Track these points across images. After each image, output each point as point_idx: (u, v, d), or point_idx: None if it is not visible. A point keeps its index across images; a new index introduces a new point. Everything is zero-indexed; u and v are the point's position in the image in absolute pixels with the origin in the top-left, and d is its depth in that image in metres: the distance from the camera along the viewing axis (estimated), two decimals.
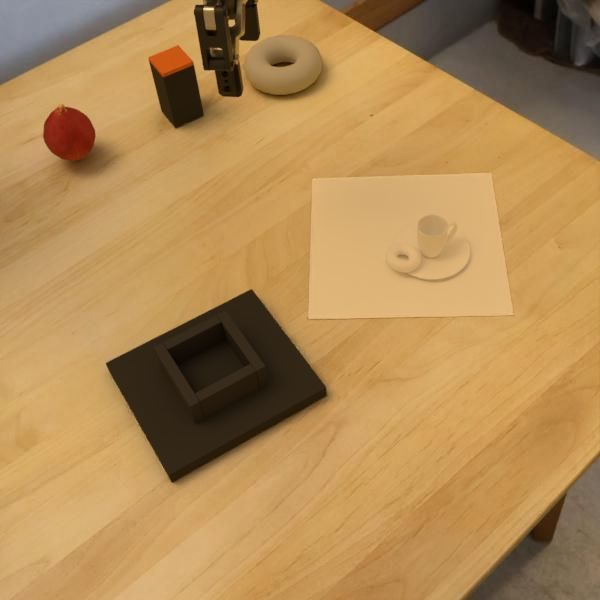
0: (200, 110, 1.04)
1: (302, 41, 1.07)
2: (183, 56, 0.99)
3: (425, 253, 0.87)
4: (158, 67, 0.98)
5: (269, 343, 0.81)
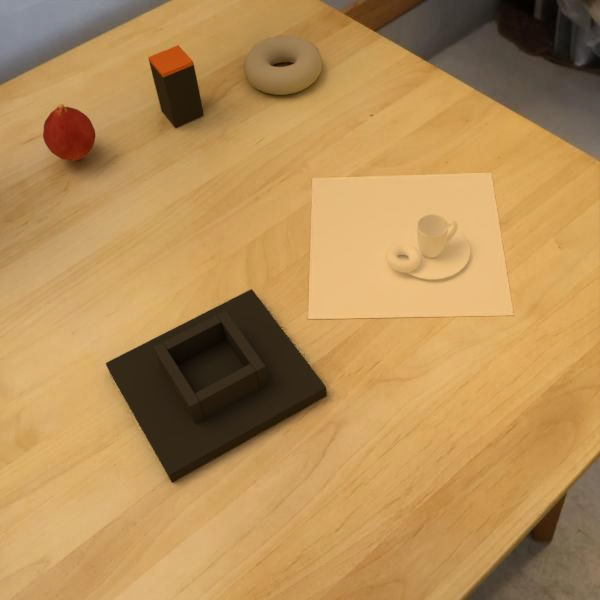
0: (200, 110, 1.04)
1: (302, 41, 1.07)
2: (183, 56, 0.99)
3: (425, 253, 0.87)
4: (158, 67, 0.98)
5: (269, 343, 0.81)
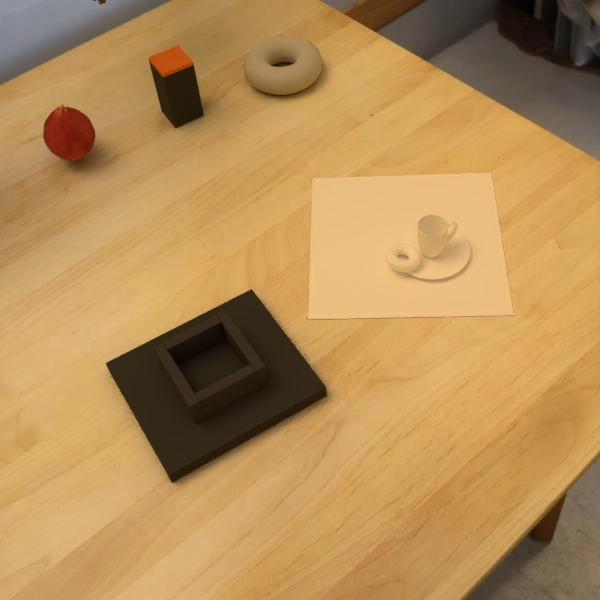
0: (200, 110, 1.04)
1: (302, 41, 1.07)
2: (183, 56, 0.99)
3: (425, 253, 0.87)
4: (158, 67, 0.98)
5: (269, 343, 0.81)
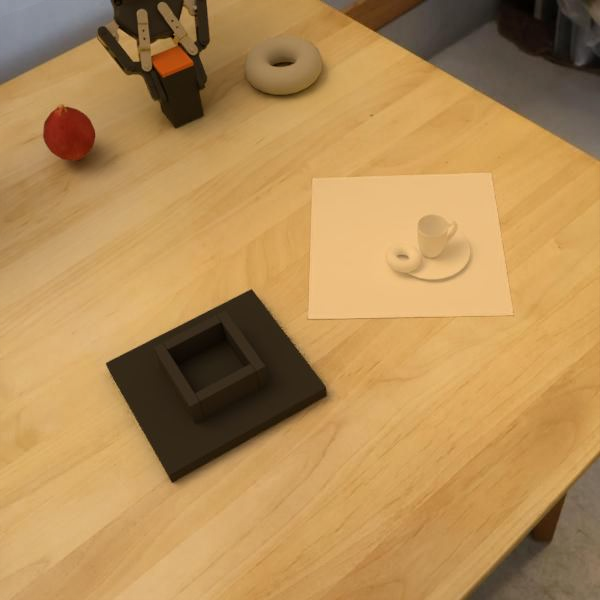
0: (200, 110, 1.04)
1: (302, 41, 1.07)
2: (183, 56, 0.99)
3: (425, 253, 0.87)
4: (158, 67, 0.98)
5: (269, 343, 0.81)
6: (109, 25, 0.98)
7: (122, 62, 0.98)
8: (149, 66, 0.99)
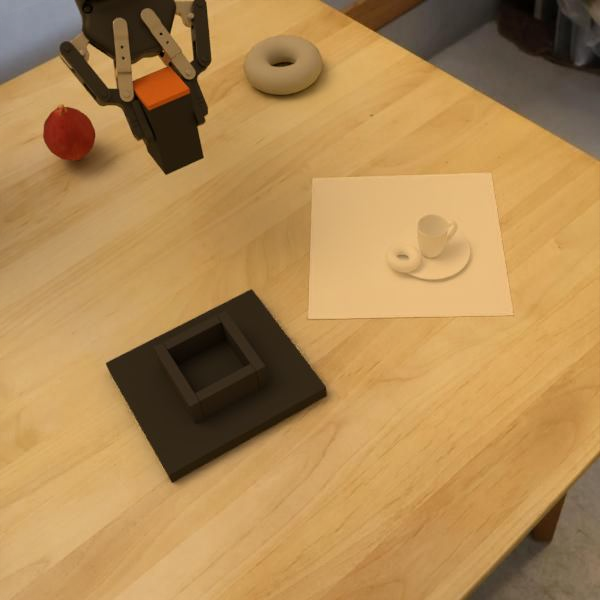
0: (198, 151, 0.79)
1: (302, 41, 1.07)
2: (176, 81, 0.74)
3: (425, 253, 0.87)
4: (142, 96, 0.73)
5: (269, 343, 0.81)
6: (76, 40, 0.73)
7: (93, 90, 0.73)
8: (130, 95, 0.73)
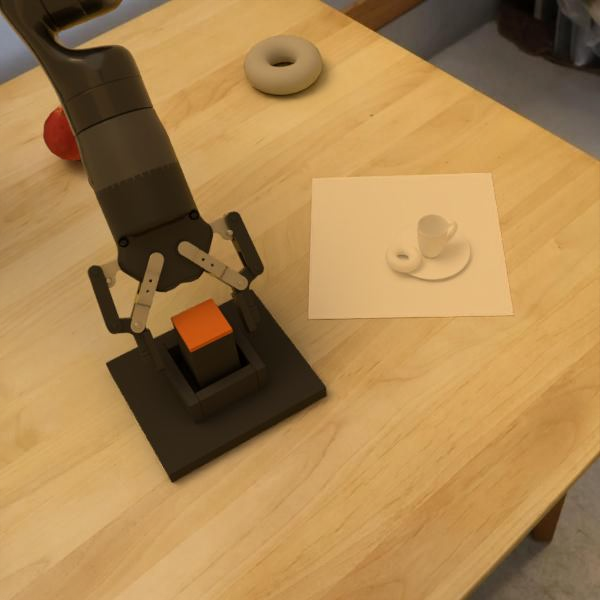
0: None
1: (302, 41, 1.07)
2: (218, 319, 0.73)
3: (425, 253, 0.87)
4: (184, 337, 0.72)
5: (269, 343, 0.81)
6: (108, 265, 0.71)
7: (106, 319, 0.71)
8: (141, 327, 0.71)
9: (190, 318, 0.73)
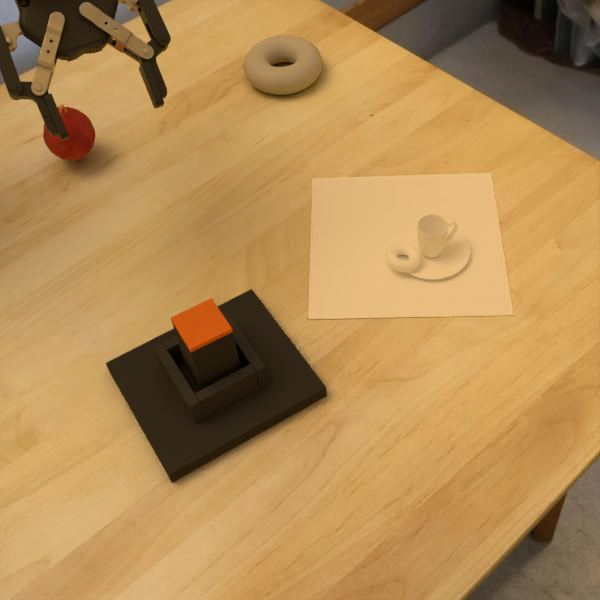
0: None
1: (302, 41, 1.07)
2: (218, 319, 0.73)
3: (425, 253, 0.87)
4: (184, 337, 0.72)
5: (269, 343, 0.81)
6: (8, 26, 0.70)
7: (5, 79, 0.69)
8: (42, 89, 0.70)
9: (190, 318, 0.73)
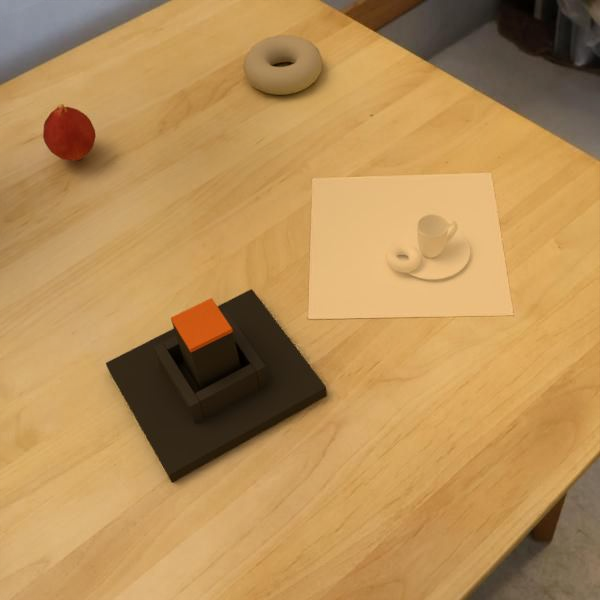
0: None
1: (302, 41, 1.07)
2: (218, 319, 0.73)
3: (425, 253, 0.87)
4: (184, 337, 0.72)
5: (269, 343, 0.81)
6: None
7: None
8: None
9: (190, 318, 0.73)
